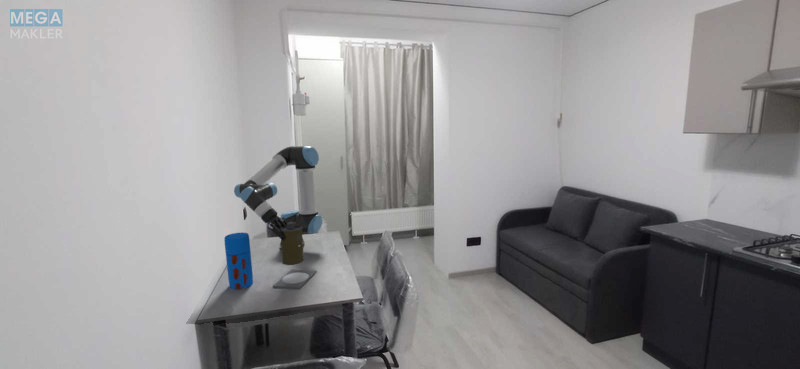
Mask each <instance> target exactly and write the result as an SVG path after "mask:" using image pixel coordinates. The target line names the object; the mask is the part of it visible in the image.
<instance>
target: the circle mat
mask: <svg viewBox="0 0 800 369" xmlns="http://www.w3.org/2000/svg"><path fill="white" fill-rule="evenodd" d="M315 274H317V270H313V269H312V270H311V269H309V270H308V269H295V268H294V269H290V270H289V271H288V272H287V273H285V274H284V275H283V276H282V277H281V278H280V279H279V280H278V281H276V283H274V284H273V285H272V288H279V289H290V290H291V289H294V290H301V289H302V287H304V285H306V283H307V282H309V281H310V279H311V278H313V277H314V275H315Z"/></svg>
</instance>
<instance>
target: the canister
mask: <svg viewBox="0 0 800 369" xmlns="http://www.w3.org/2000/svg"><path fill="white" fill-rule="evenodd" d="M282 228H283V229H284V230H282V229H280V230H281V232H282V233H283V234H284V235H285V236H286V238H285V240H282V249H281V256H282V262H281V263H282V265H284V266H296V265H300V264H302V263H304V262H305V259H304V247H303V240H304V238H303V232H302V226H300V225H298V224H296V223H295V222H289V223H287V228H285V227H282ZM299 245H300V246H299Z"/></svg>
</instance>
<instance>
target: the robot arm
mask: <svg viewBox="0 0 800 369" xmlns="http://www.w3.org/2000/svg"><path fill="white" fill-rule="evenodd" d="M319 158H320V157H319V153H318V151H317V149H316V148H315V147H313V146H310V145H309V146H307V145H297V146H295V145H291V146H287V147H285V148H283V149H281V150H280V151H278V152H276V154H274V155H273V156H272V159H271V160H270V161H268V162H267V163H266V164H265V165H264V166H263V167H262V168H261V169H259V171H257V172H256V173H254V174H253V176H252V177H250V178H249V179H247V180H246V182H244V183H239V184H236V185H235V187H234V189H233V193H234V195H235V197H237V198H240V200H241V201H243V203H245V204H246V206H248V207H249V209H251V211H253V212H254V213H255V215H257V216H258V217H259V218H260V219H261V220H262V221H263V222H264V223H265V224H268V226H267V229H269V230H270V231H272V233H273V234H275V235H276V236H277V237H278V238H279V239H280V243H279V248H280V250H282V240H285V238H286V236H285V235H284V234H283V233H282V232H281V230H280V229H282V230H284V229H283V228H282V227H285V228H287V223H289V222H295V223H296V224H298V225H300V226H302V233H305V234H306V233H307V234H316V233H318V232H319V231H320V230H321V228H322V225H323V217H322V215H320V214H319V211H318V209H317V208H316V201H315V200H316V199H315V197H316V196H315V183H314V170H315V169H316V166H317V165H318V163H319ZM288 166H294V167H295V170H296V171H298V184H299V198H300V210H298V209H297V210H295V209H294V210H289V211H285V212H283V213H281V214H280V216H278V212H277V211H276V210H275V209H274V207H273V208H272V205H271V204H269V203H268V201H269V200H270V199H271V198H273V197H274V196H276V195H277V194H278V188H277V186H276V184H274V183H273V182H269V181H270V180H272V178H273V177H275V176H276V175H277V174H278V173H279V172H280V171H281V170H282V169H283V170H284V169H285V168H287V167H288ZM299 246H300V245H299ZM304 247H305V241H304V239H303V248H304Z"/></svg>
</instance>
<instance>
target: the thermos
mask: <svg viewBox="0 0 800 369" xmlns="http://www.w3.org/2000/svg"><path fill="white" fill-rule="evenodd" d="M224 247H225V249H224V250H225V258H226V259H225V260H226V268H227V279H228V284H229V288H230V289H232V290H242V289H246V288H249V287H251V286H252V285H253V282H254V278H253V277H254V276H253V264H252V254H251V253H252V251H251V243H250V235H249V233H248V232H235V233H230V234H227V235H225V237H224Z"/></svg>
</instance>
